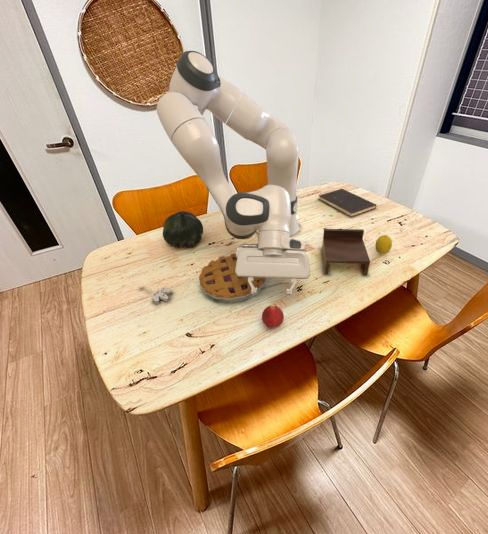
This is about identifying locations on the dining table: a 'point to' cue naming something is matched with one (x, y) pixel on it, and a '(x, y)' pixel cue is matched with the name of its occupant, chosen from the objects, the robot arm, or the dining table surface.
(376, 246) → the lemon
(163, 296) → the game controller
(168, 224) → the squash
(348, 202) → the hardcover book
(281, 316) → the red round solid
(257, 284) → the pie
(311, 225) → the dining table surface
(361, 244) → the shelf
